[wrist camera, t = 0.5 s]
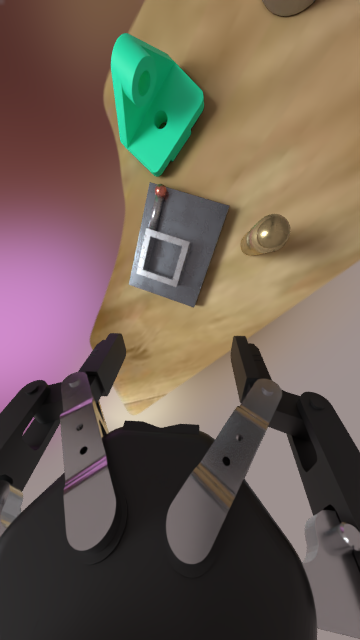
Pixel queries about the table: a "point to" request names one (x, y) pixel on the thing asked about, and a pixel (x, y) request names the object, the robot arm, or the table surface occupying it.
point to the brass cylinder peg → (266, 235)
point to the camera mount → (152, 102)
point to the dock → (176, 243)
